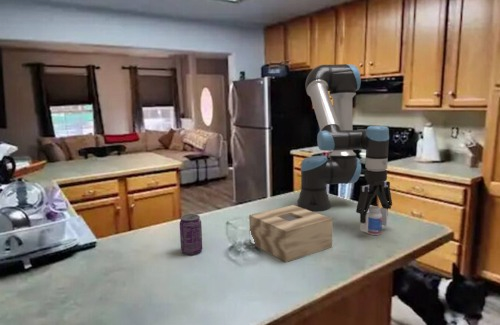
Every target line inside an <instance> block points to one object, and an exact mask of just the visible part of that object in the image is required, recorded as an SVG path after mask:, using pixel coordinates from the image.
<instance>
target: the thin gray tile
mask: <svg viewBox="0 0 500 325" xmlns="http://www.w3.org/2000/svg"><path fill="white" fill-rule="evenodd" d="M282 219H285V220H287V221H291V220H295V219H298V218H295V217H293V216H288V217H284V218H282Z"/></svg>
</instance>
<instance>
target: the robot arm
mask: <svg viewBox="0 0 500 325" xmlns="http://www.w3.org/2000/svg"><path fill="white" fill-rule="evenodd" d="M361 79H362V78H361V72H360V70H359V68H358V66H356V65H354V64H347V63H345V64H343V63H342V64H321V65H318V66H315V67H314V68H313V69H312V70H311V71H310V72H309V74H308V75H307V77H306V80H305V91H306V94H307V96H309V97H310V100H311V103H312V107H313V109H314V113H315V116H316V120H317V123H318V127H319V130H320V131H319V132H318V133H317V137H316V138H317V139H316V141H317V148H318V149H319V150H320V151H324V152H325V151H328V152H329V151H330V152H331V153H330V154H329V158H328V157H327V156H326V155H312V156H308V157H305V158H304V159H302V161H301V163H300V164H301V166H300V192H299V196H298V199H297V202H296V206H298V207H300V208H303V209H306V210H309V211H312V212H321V211H327V210H329V209H330V208H331V202H330V200H329V194H328V192H327V186H328V185H337V184H339V185H340V184H346V185H347V184H354V183H356V182H357V181H358V180H359V178H360V177H361V172H362V164H361V160H360V158H358V157H357V153H356V152H354V150H355V151H357V150H358V151H359V150H360V151H361V150H363V151H365V171H364V179H365V180H366V185H360V192H359V197H358V201H357V205H356V210H355V212H356V213H357V214H359V222H360V226H359V228H360V231H361V232H364V233H367V232H368V214H367V213H368V212H369V207H370V206H371V205H372V202H373V199H374V198H375V197H376V196H377V198H378V199H379V203H380V205H381V207H380V213H381V214H382V226H384V227H387V226H388V215H389V214H388V213H389V210H390V209H392V206H393V200H392V199H393V198H392V192H391V188H390V187H391V182H390V181H387V179H388V170H387V169H388V158H389V145H390V144H389V142H390V133H389V132H390V129H389V127H388V126H386V125H385V126H381V125H370V126H367V128H360V129H354V128H353V98H354V97H355V96H356V95H357V93H356V92H357V91H359V89H360V88H361V81H362V80H361ZM330 97H331V98H332V100H331V98H330Z"/></svg>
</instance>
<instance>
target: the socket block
mask: <svg viewBox="0 0 500 325" xmlns="http://www.w3.org/2000/svg"><path fill="white" fill-rule="evenodd" d="M288 216H293V217H295V218H298V219H295V220H291V221H287V220H285V219H282V218H284V217H288ZM333 219H334V218H332V217H330V216H327V215H323V214H320V213H317V212H316V211H309V210H306V209H303V208H300V207H298V206H297V205H294V204H291V205H287V206H282V207H278V208H274V209H269V210H265V211H261V212H257V213H252V214H249V219H248V220H249V222H248V223H249V232H250V231H251V235H252V237H253V239H254V242H255V245H254V246H256V247H258V248H259V249H260V250H261V249H262V250H263V251H264V252H267V253H269V255H272V256H274V257H276V258H277V259H279V260H281V261H282V262H285V263H288V262H291V261H294V260H297V259H300V258H304V257H306V256H310V255H312V254H315V253H317V252H321V251H324V250H327V249H330V248H333Z"/></svg>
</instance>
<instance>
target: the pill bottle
mask: <svg viewBox="0 0 500 325" xmlns="http://www.w3.org/2000/svg"><path fill="white" fill-rule="evenodd" d="M380 208H381V207H379V206H376V205H372V206H371V205H370V207H369V209H368V212H367V214H368V232H366V233H367V234H368V235H371V236H379V235H381V234H382V228H383V227H382V226H383V225H382V214H381V213H380Z"/></svg>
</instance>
